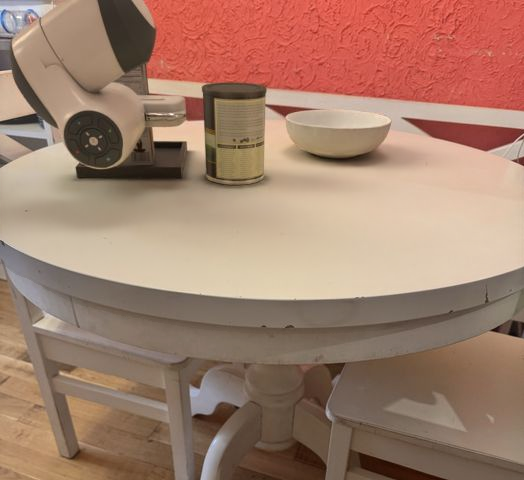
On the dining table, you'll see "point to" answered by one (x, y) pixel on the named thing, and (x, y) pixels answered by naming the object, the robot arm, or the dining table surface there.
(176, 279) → the dining table surface
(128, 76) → the coffee box
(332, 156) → the serving bowl
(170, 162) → the tray
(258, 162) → the coffee can
